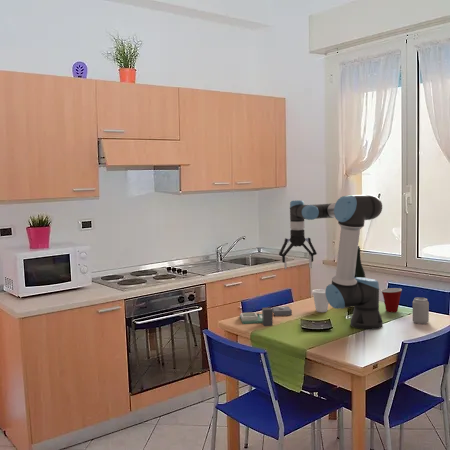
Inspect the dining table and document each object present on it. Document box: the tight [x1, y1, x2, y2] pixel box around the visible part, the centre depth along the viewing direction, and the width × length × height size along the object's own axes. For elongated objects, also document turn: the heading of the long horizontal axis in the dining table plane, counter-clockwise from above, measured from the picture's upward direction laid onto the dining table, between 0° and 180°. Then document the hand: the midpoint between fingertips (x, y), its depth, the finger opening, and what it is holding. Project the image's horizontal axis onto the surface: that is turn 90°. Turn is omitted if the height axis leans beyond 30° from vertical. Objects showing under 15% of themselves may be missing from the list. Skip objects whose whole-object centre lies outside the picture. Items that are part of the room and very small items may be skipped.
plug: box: [261, 307, 274, 327], centre depth 270 cm, size 5×4×8 cm
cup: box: [311, 288, 330, 313], centre depth 293 cm, size 10×10×11 cm
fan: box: [271, 305, 293, 317], centre depth 290 cm, size 9×9×3 cm
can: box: [412, 297, 430, 325], centre depth 266 cm, size 8×8×12 cm
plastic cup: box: [380, 287, 403, 313], centre depth 289 cm, size 11×11×12 cm
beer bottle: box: [354, 245, 367, 278], centre depth 307 cm, size 10×10×33 cm
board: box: [239, 311, 262, 325], centre depth 279 cm, size 14×12×3 cm
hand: (297, 268), depth 293 cm, fingers open, 13 cm apart
